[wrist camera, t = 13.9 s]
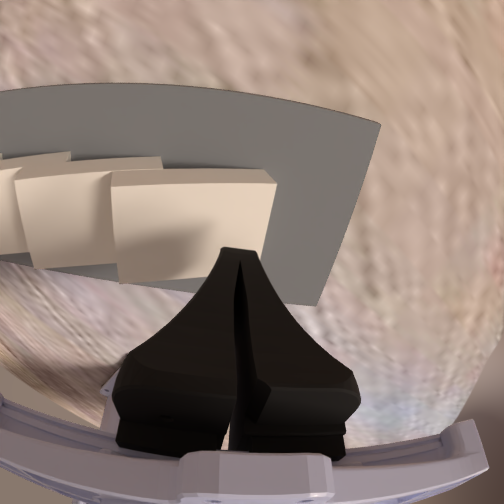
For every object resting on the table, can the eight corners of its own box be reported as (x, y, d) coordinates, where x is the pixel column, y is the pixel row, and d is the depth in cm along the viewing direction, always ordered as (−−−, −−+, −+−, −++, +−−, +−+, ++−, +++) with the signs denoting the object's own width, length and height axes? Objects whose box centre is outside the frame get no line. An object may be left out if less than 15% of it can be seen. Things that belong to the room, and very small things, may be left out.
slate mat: (378, 122, 14) (381, 124, 14) (315, 302, 21) (316, 306, 20) (-66, 105, 11) (-70, 107, 10) (-37, 248, 18) (-39, 251, 17)
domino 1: (65, 162, 13) (-49, 179, 10) (76, 247, 16) (-27, 257, 13) (70, 151, 14) (-37, 167, 11) (78, 232, 17) (-19, 241, 14)
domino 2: (163, 168, 13) (14, 180, 11) (161, 259, 16) (34, 269, 14) (160, 156, 14) (23, 166, 12) (158, 241, 17) (39, 250, 15)
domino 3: (277, 183, 14) (110, 187, 11) (257, 271, 17) (119, 284, 14) (263, 169, 15) (112, 171, 12) (247, 253, 18) (118, 263, 15)
